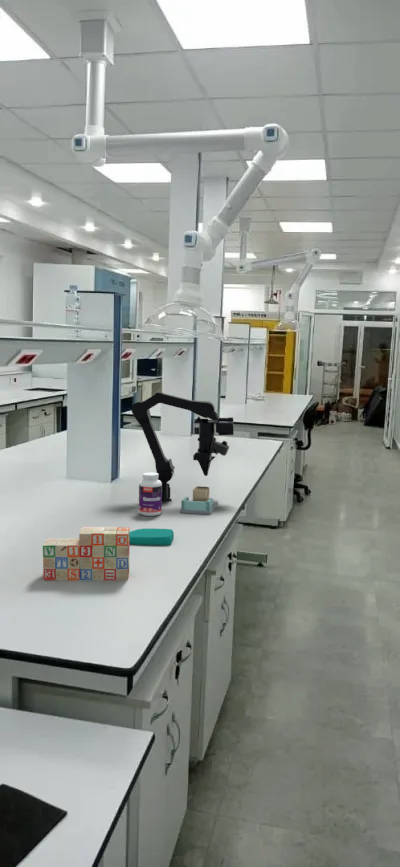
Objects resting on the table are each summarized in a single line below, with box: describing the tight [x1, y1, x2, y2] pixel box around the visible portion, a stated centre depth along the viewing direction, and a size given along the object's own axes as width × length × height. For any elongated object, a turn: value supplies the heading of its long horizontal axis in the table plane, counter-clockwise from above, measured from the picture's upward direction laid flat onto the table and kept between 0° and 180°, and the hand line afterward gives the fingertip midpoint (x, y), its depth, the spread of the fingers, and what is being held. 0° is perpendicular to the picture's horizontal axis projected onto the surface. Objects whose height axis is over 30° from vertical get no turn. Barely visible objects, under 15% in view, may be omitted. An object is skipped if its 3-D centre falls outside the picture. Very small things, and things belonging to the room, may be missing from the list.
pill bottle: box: [138, 472, 163, 517], centre depth 228 cm, size 8×8×14 cm
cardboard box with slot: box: [192, 485, 210, 502], centre depth 240 cm, size 6×5×6 cm
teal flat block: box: [129, 527, 175, 546], centre depth 198 cm, size 3×11×24 cm
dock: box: [179, 496, 219, 515], centre depth 237 cm, size 15×11×4 cm
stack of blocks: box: [42, 526, 131, 581], centre depth 165 cm, size 21×6×12 cm, turn 93°
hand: (206, 475), depth 247 cm, fingers closed
